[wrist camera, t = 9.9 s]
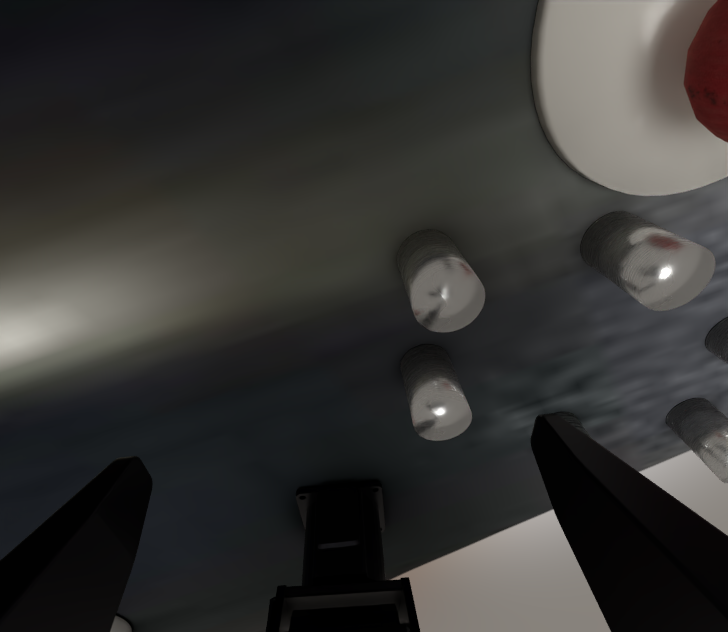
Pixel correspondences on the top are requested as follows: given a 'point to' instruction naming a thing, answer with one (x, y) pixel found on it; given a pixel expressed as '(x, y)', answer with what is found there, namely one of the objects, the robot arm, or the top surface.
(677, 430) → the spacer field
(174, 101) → the top surface
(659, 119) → the plate
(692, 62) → the onion
